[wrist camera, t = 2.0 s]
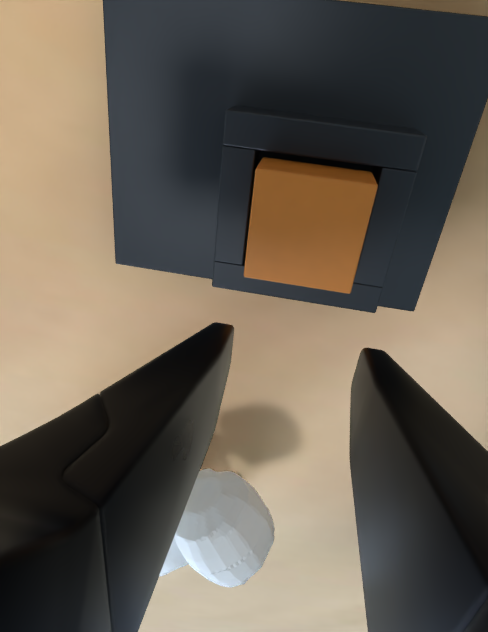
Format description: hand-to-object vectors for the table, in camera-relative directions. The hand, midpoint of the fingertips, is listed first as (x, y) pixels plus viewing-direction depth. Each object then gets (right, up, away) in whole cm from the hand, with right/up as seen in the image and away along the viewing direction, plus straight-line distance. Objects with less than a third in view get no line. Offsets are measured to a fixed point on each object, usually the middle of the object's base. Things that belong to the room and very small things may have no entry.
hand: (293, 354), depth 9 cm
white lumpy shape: (-5, -8, +21) cm, 23 cm away
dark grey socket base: (+1, +8, +10) cm, 13 cm away
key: (+1, +5, +8) cm, 9 cm away
